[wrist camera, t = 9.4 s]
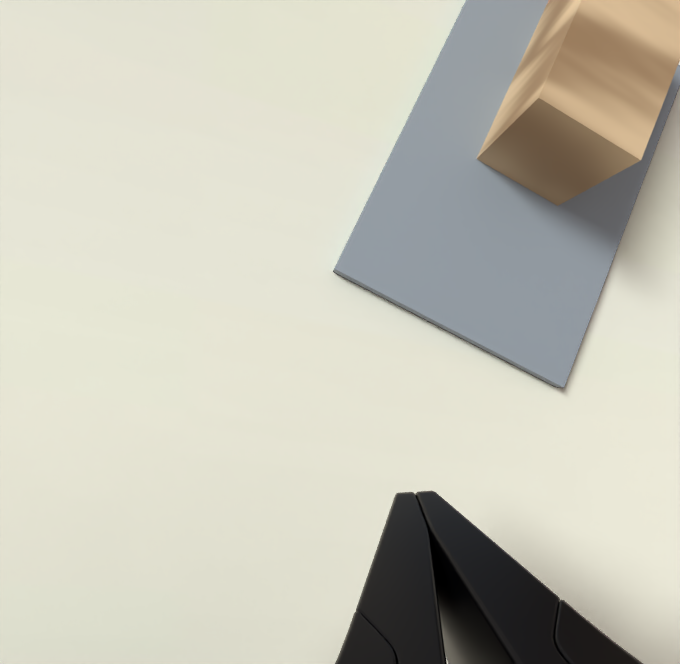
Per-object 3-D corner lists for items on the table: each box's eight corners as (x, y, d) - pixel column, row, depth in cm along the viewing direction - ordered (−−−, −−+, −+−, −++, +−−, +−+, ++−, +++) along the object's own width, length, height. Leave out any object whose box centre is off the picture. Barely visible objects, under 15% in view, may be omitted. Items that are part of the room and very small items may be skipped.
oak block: (640, 160, 17) (720, -47, 19) (538, 97, 17) (630, -111, 18) (557, 205, 22) (626, 39, 24) (476, 158, 21) (552, -10, 23)
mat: (555, 387, 22) (564, 387, 21) (332, 271, 20) (334, 268, 20) (675, 76, 25) (685, 69, 24) (488, -46, 23) (494, -56, 23)
